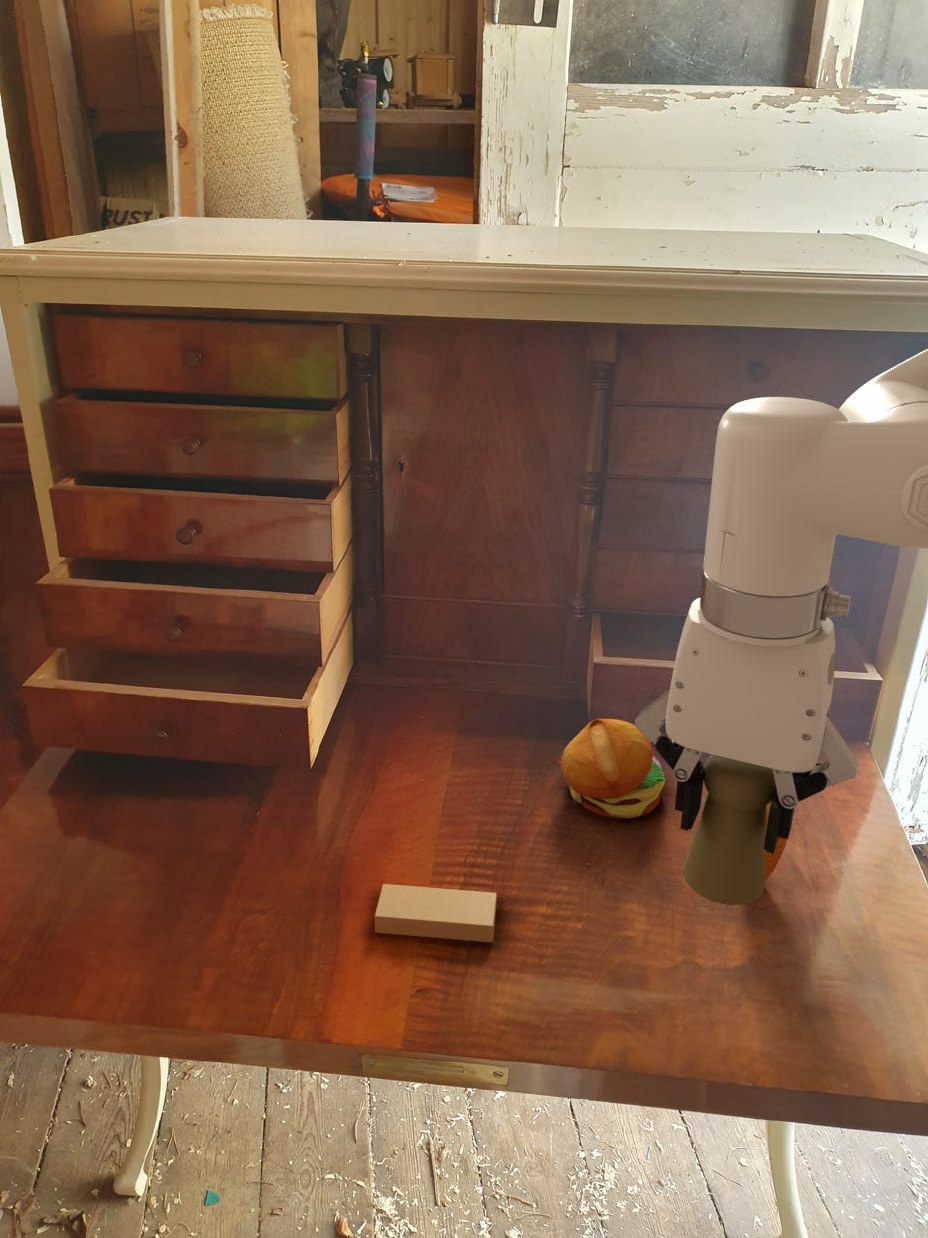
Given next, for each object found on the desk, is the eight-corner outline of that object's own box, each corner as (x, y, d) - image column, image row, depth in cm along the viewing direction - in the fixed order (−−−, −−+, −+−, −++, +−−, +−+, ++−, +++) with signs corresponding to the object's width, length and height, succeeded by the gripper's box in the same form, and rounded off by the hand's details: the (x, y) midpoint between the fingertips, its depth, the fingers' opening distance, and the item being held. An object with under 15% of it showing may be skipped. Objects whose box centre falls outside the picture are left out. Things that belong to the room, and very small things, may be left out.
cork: (685, 900, 70) (704, 778, 65) (680, 846, 76) (697, 729, 71) (770, 909, 70) (796, 786, 65) (759, 854, 75) (782, 736, 70)
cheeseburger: (689, 799, 99) (685, 728, 94) (617, 860, 95) (609, 790, 89) (617, 754, 106) (609, 685, 101) (547, 809, 102) (535, 740, 96)
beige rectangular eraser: (496, 914, 85) (496, 892, 83) (492, 948, 81) (493, 926, 80) (383, 905, 85) (383, 883, 84) (375, 938, 82) (374, 916, 81)
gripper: (911, 600, 60) (863, 832, 68) (646, 557, 67) (630, 773, 75) (903, 651, 54) (851, 899, 62) (612, 599, 61) (599, 828, 69)
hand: (730, 828), depth 69 cm, fingers closed on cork, 5 cm apart
